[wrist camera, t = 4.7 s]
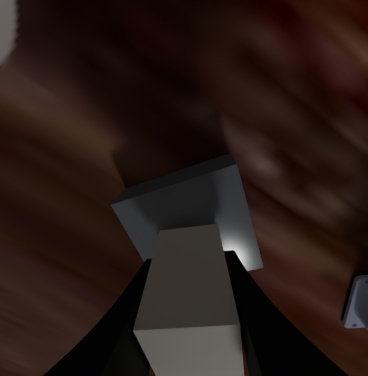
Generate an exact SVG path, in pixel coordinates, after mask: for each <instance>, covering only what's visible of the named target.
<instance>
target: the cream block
mask: <svg viewBox="0 0 368 376" xmlns="http://www.w3.org/2000/svg"><path fill="white" fill-rule="evenodd" d="M133 332H134V334H135V335H136V337H137V339H138V341H139V343H140V345H141V347H142V349H143V351H144V353H145V355H146V357H147V359H148V361H149V363H150V365H151V367H152V369H153V371H154V373H155V375H156V376H244V369H243V356H242V344H241V331H240V323H239V318H238V313H237V309H236V304H235V300H234V295H233V291H232V286H231V282H230V277H229V273H228V268H227V263H226V259H225V254H224V250H223V245H222V241H221V236H220V232H219V227H218V224H211V225H202V226H194V227H185V228H177V229H168V230H160V231H159V235H158V238H157V242H156V246H155V250H154V253H153V257H152V261H151V265H150V268H149V272H148V276H147V280H146V283H145V287H144V291H143V295H142V299H141V302H140V306H139V310H138V314H137V317H136V321H135V325H134V329H133Z"/></svg>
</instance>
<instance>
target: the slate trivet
mask: <svg viewBox="0 0 368 376" xmlns="http://www.w3.org/2000/svg"><path fill="white" fill-rule="evenodd" d="M111 206H112V208H113V209H114V211H115V213H116V215H117V216H118V218H119V220H120V221H121V223H122V225H123V227H124V228H125V230H126V232H127V233H128V235H129V237H130V239H131V240H132V242H133V244H134V245H135V247H136V249H137V250H138V252H139V254H140V256H141V257H142V259H143V261H144V262H145V261H146V259H150V258H152V257H153V253H154V250H155V246H156V242H157V238H158V235H159V231H160V230H168V229H177V228H185V227H194V226H202V225H211V224H218V227H219V232H220V236H221V241H222V245H223V250H224V251H230V250H234V251H235V252H236V254H237V256H238V258H239V259H240V261H241V262H242V264H243V266H244V267H245V269H246V270H247V271H250V270H254V269H259V268H263V264H262V260H261V256H260V252H259V248H258V244H257V240H256V236H255V233H254V229H253V225H252V221H251V217H250V213H249V209H248V205H247V201H246V197H245V193H244V190H243V186H242V182H241V178H240V174H239V170H238V166H237V163H236V162H235V161H234V160H233V159H232V158H231V157H230V155H229V154H226V155H223V156H220V157H217V158H214V159H211V160H208V161H205V162H202V163H199V164H196V165H193V166H190V167H187V168H184V169H181V170H178V171H175V172H172V173H169V174H167V175H164V176H161V177H158V178H155V179H152V180H149V181H146V182H143V183H140V184H137V185H134V186H131V187H128V188H126V189H125V190H124V191H123V192H122V193H121V194H120V195H119V196H118V197H117V199H116V200H115V201H114V202H113V203H112V204H111Z"/></svg>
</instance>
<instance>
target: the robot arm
mask: <svg viewBox="0 0 368 376" xmlns="http://www.w3.org/2000/svg"><path fill="white" fill-rule="evenodd" d="M224 254H225V259H226V263H227V268H228V273H229V277H230V282H231V286H232V291H233V295H234V300H235V304H236V309H237V313H238V318H239V323H240V331H241V339H242V343H243V347H244V351H245V356H246V361H247V366H248V371H249V375H250V376H349V375H347V374H346V373H345V372H344V371H343V370H342V369H340V368H339V367H338V366H337V365H336V364H335V363H334V362H332V361H331V360H330V359H329V358H328V357H327V356H326V355H324V354H323V353H322V352H321V351H320V350H319V349H318V348H317V347H316V346H315V345H314V344H313V343H312V342H310V341H309V340H308V339H307V338H306V337H305V336H304V335H303V334H302V333H301V332H300V331H299V330H298V329H297V328H296V327H295V326H294V325H293V324H292V323H291V322H290V321H289V320H288V319H287V318H286V317H285V316H284V315H283V314H282V313H281V312H280V311H279V310H278V308H277V307H276V306H275V305H274V304H273V303H272V302H271V301H270V299H269V298H268V297H267V296H266V295H265V294H264V292H263V291H262V290H261V289H260V287H259V286H258V285H257V284H256V282H255V281H254V280H253V278H252V277H251V276H250V274H249V273H248V271H247V270H246V269H245V267H244V266H243V264H242V262H241V261H240V259H239V258H238V256H237V254H236V252H235V251H234V250H230V251H224ZM151 261H152V258H150V259H146V261H145V262H144V263H143V265H142V266H141V268H140V269H139V271H138V272H137V274H136V275H135V277H134V278H133V279H132V281H131V282H130V284H129V285H128V286H127V288H126V289H125V290H124V292H123V293H122V294H121V296H120V297H119V298H118V299H117V301H116V302H115V303H114V305H113V306H112V307H111V308H110V309H109V311H108V312H107V313H106V314H105V315H104V316H103V318H102V319H101V320H100V321H99V322H98V323H97V324H96V325H95V327H94V328H93V329H92V330H91V331H90V332H89V333H88V334H87V335H86V336H85V337H84V338H83V339H82V340H81V341H80V342H79V343H78V344H77V345H76V346H75V347H74V348H73V349H72V350H71V351H70V352H69V353H68V354H66V355H65V356H64V357H63V358H62V359H61V360H60V361H59V362H58V363H57V364H56V365H54V366H53V367H52V368H51V369H50V370H49V371H48V372H47V373H45V374H44V375H43V376H149V369H150V363H149V361H148V359H147V357H146V355H145V353H144V351H143V349H142V347H141V345H140V343H139V341H138V339H137V337H136V335H135V334H134V332H133V329H134V325H135V321H136V317H137V314H138V310H139V306H140V302H141V299H142V295H143V291H144V287H145V283H146V280H147V276H148V272H149V268H150V265H151ZM342 324H343V325H344V326H345V327H346V328H361V327H365V328H366V329H367V330H368V275H360V276H356V277H355V278H354V281H353V285H352V289H351V292H350V296H349V300H348V304H347V307H346V311H345V315H344V318H343V322H342Z"/></svg>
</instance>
